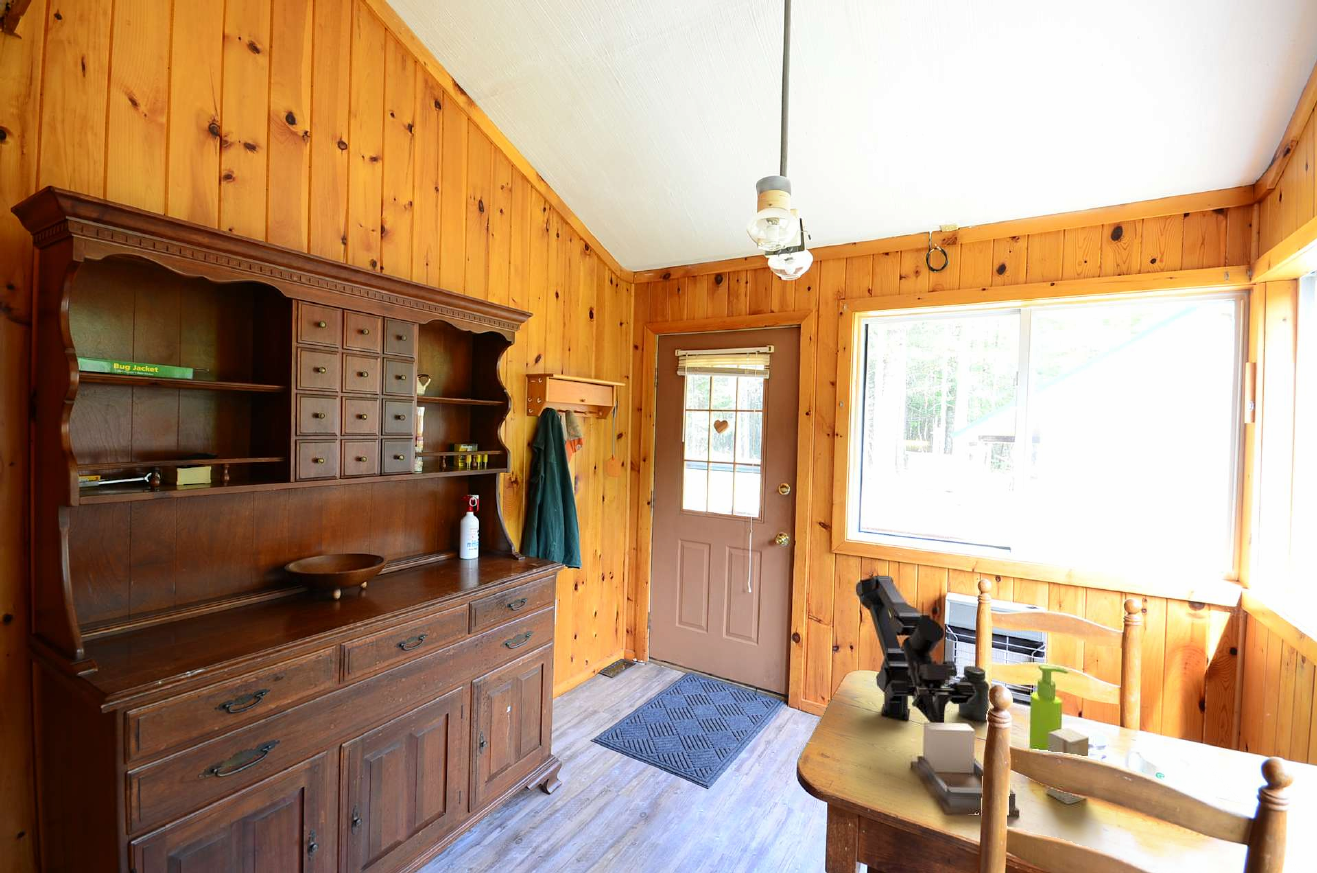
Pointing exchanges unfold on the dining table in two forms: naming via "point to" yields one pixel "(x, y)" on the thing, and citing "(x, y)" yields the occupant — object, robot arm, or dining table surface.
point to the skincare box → (1071, 744)
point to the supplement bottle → (980, 702)
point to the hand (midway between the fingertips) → (941, 732)
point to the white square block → (949, 747)
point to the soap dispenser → (1045, 709)
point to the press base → (954, 783)
